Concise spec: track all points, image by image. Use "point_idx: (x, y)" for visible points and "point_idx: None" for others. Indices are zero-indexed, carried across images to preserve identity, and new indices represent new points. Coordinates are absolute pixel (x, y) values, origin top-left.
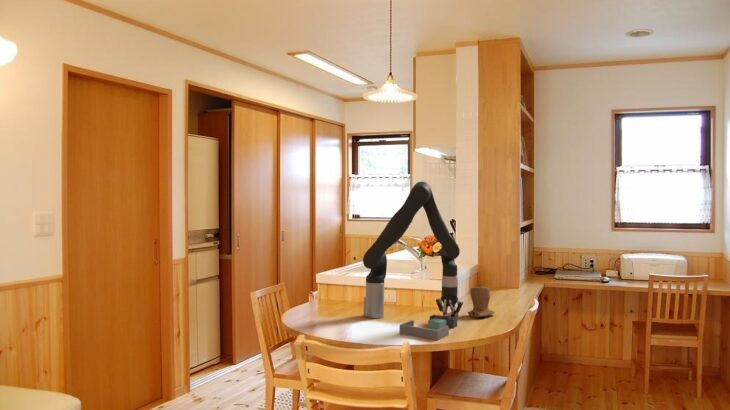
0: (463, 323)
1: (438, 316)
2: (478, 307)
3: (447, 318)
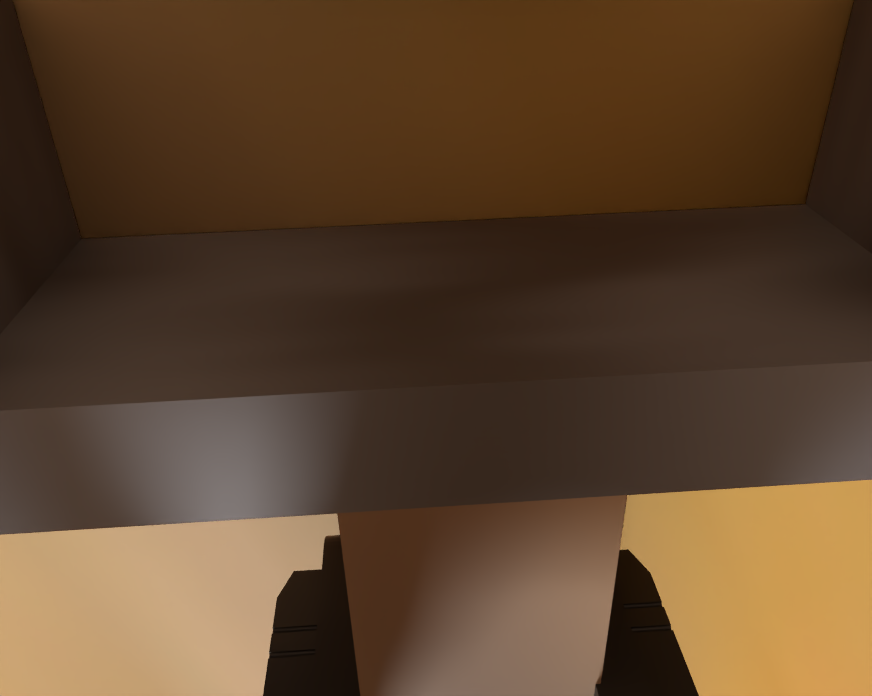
0: (152, 663)
1: (778, 348)
2: None
3: (304, 358)
